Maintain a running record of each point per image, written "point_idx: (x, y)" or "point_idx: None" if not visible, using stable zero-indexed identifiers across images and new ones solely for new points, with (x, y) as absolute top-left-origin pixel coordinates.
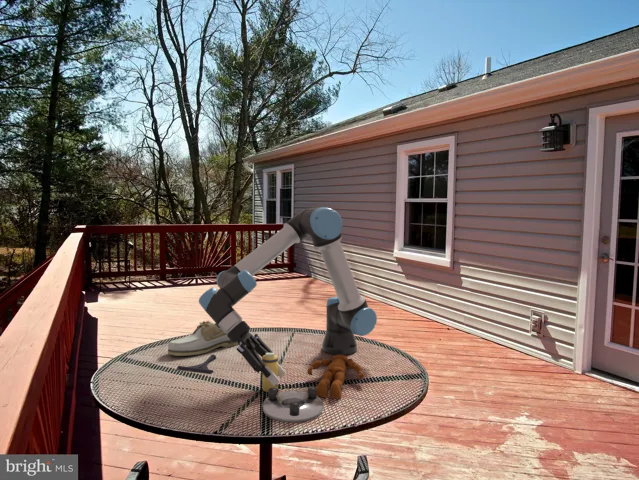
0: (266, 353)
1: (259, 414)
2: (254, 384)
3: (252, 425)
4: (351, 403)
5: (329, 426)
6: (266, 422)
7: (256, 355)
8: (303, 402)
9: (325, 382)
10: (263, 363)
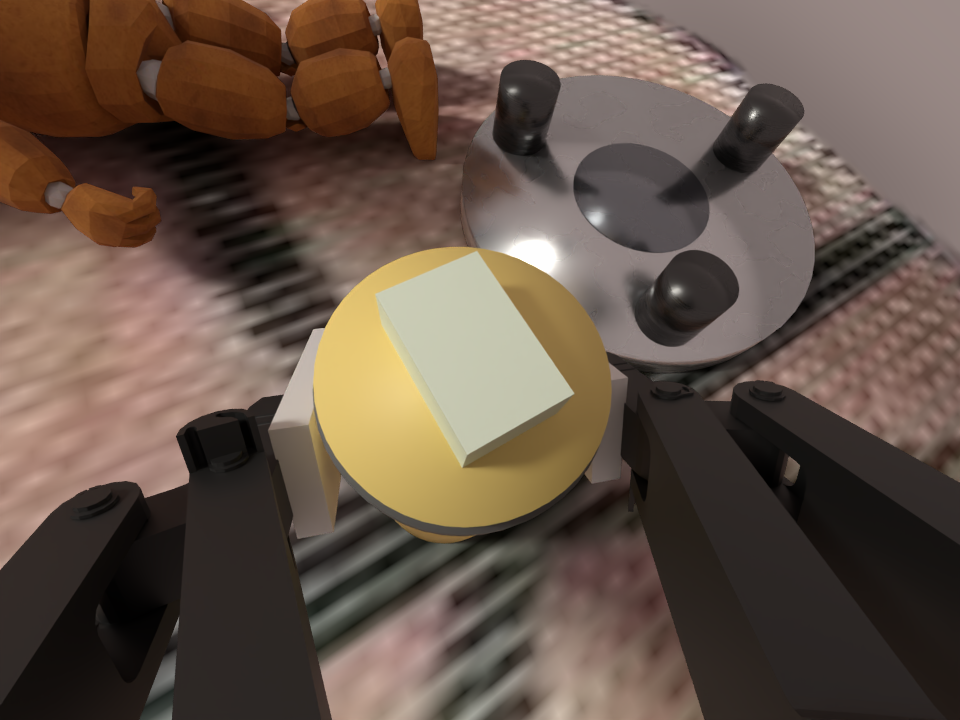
0: (503, 417)
1: (802, 340)
2: (410, 679)
3: (907, 315)
4: (437, 23)
5: (680, 55)
6: (835, 269)
7: (801, 530)
8: (605, 152)
9: (374, 56)
10: (656, 405)
